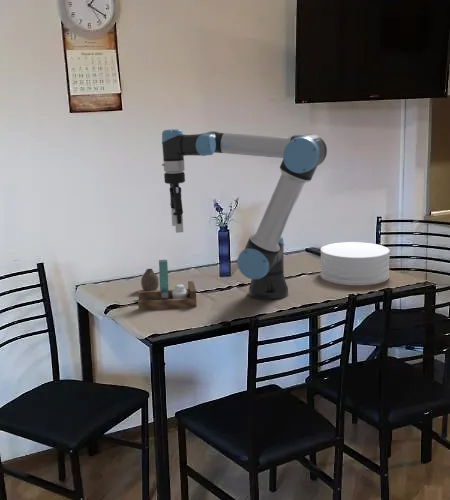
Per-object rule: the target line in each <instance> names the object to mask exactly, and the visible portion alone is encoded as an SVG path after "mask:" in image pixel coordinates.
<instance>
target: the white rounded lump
mask: <svg viewBox="0 0 450 500" xmlns="http://www.w3.org/2000/svg"><path fill="white" fill-rule="evenodd" d="M186 289H187V288H186V287H185V285H184V284H176V285H175V287H174V289H172V290H173V292H172V296H173V298H172V299H182V298H187V295H188V291H187V290H186Z"/></svg>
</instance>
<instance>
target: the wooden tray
mask: <svg viewBox="0 0 450 500" xmlns="http://www.w3.org/2000/svg"><path fill="white" fill-rule="evenodd" d="M187 285H188V287H187V288H185V289H186V290H187V291H188V295H187V298H182V299H174V298H173V296H172V292H173V290H174V289H168V290H169V291H168V299H164V300H161V291H160V289H159V290H156V291H144V290H142V291H137V292H138V301H137V302H138V311H146V310H147V311H149V310H163V309H165V310H166V309H180V308H181V309H183V308H196V307H197V301H198V300H197V290H196V286H195V281H194V280H190V281H187Z"/></svg>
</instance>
